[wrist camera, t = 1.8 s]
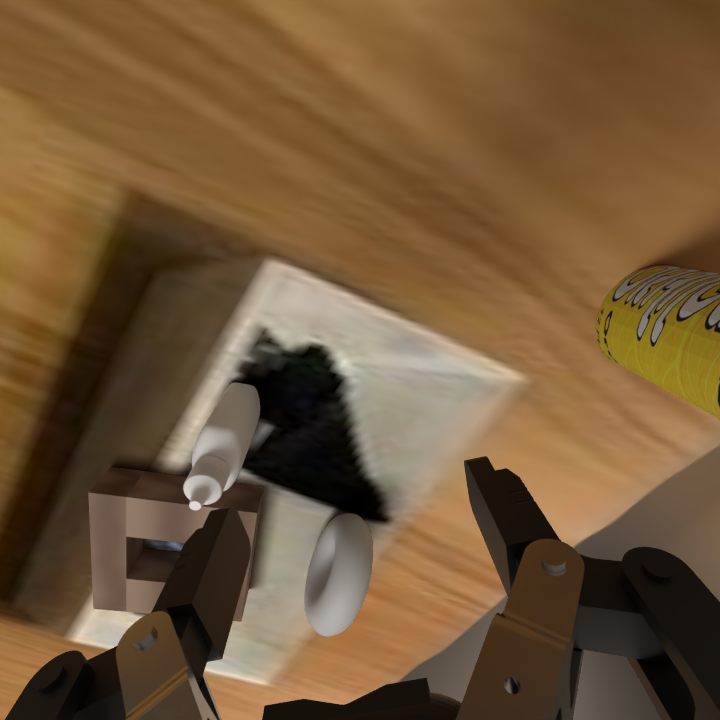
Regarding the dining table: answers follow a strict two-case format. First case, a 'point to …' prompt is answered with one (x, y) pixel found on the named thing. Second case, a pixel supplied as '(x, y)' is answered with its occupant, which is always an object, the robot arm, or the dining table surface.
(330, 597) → the donut
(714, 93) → the dining table surface
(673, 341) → the beverage can
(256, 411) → the eye dropper bottle
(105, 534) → the walnut socket block
